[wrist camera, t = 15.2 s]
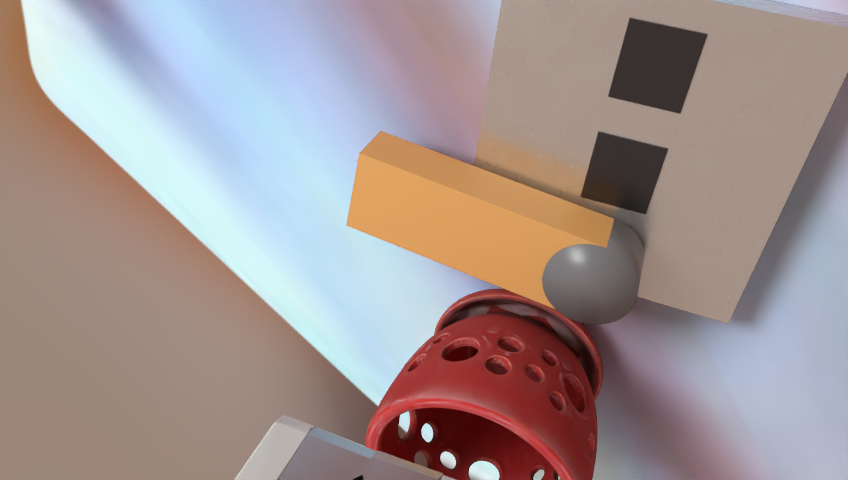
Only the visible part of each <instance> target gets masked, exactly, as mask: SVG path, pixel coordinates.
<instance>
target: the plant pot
mask: <svg viewBox="0 0 848 480" xmlns="http://www.w3.org/2000/svg"><path fill="white" fill-rule="evenodd" d="M602 380H603V367H602V361H601V357H600V354H599V351H598V349H597V346H596V344H595V342H594V340H593V338H592V337H591V335H590V334H589V332H588V331H587V329H586V328H585V327H584V326H583V325H582V324H581V323H580V322H577V321H574V320H572V319H570V318H568V317H566V316H564V315H563V314H561V313H560V312H558V311H557V310H556V309H554V308H551V307H549V306H546V305H544V304H541V303H539V302H536V301H534V300H531V299H529V298H526V297H524V296H521V295H519V294H516V293H514V292H511V291H509V290H506V289H489V290H483V291H479V292H475V293H472V294H470V295H467V296H465V297H463V298H461V299H460V300H458V301H457V302H455V303H454V304H453V305H451V306H450V307H449V308H448V309H447V310H446V311H445V313H444V314H443V315H442V317H441V318H440V320H439V322H438V324H437V326H436V329H435V333H434V336H433V337H431V338H430V339H429V340H428V341H427V342H425V343H424V344H423V345H422V346H421V347H420V348H419V349H418V350H417V352H416V353H415V354H414V355H413V356H412V357H411V358H410V359H409V361H408V362H407V363H406V364H405V366H404V367H403V369H402V370H401V372H400V373H399V374H398V376H397V377H396V379H395V380H394V382H393V383H392V384H391V386H390V387H389V389H388V391H387V392H386V394H385V396H384V397H383V399H382V401H381V403H380V404H379V406H378V408H377V410H376V412H375V413H374V415H373V417H372V419H371V421H370V424H369V426H368V429H367V433H366V443H365V445H366V447H368V448H370V449H373V450H375V451H381V452H384V453H387V454H390V455H392V456H395V457H398V458H401V459H404V460H406V461H409V462H412V463H415V462H414V456H415V454H416V453H417V452H419V451H420V452H422V453H423V454H424V455H425V457H426V459H427V468H429V469H432V470H435V471H438V472H440V473H443V475H445V476H448V477H450V478H453V479H456V480H470V478H469V468H470V466H471V465H472V464H473V463H474V462H477V461H487V462H490V463H492V464H493V465H494V466H496V468H497V469H498V471H499V474H500V478H499V480H533V477H534V474H535V473H536V472H537V471H538V470H540V469H543V470H544V472H545V473H544V476H543V478H542V479H541V480H558V475H559V477H560V478H561V479H560V480H592V477H593V471H594V466H595V459H596V451H597V416H596V408H595V402H594V401H595V399H596V398H597V396H598V394H599V392H600V389H601V385H602ZM407 411H409V414H410V426H409V430H408V432H407V434H406V435H405V436H404V437H403V438H402V439H401V438H400V437H399V434H398V424H399V417H400V414H402V413H404V412H407ZM425 423H428V424H429V425H430V426H431V427H432V429H433V438H432V440H431V441H430V442H429V443H428V442H426V441H425V440H424V439H423V438H422V434H421V429H422V427H423V425H424V424H425ZM444 451H447V452H450V453H451V454H453V456H454V457H455V459H456V466H455V468H454V469H449V468H447V467H445V466H444V465H443V464H442V463H441V461H440V455H441V453H442V452H444Z"/></svg>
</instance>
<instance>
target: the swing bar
mask: <svg viewBox="0 0 848 480" xmlns="http://www.w3.org/2000/svg"><path fill="white" fill-rule="evenodd" d="M347 226H349V227H352V228H354V229H357V230H359V231H362V232H364V233H367V234H369V235H372V236H374V237H377V238H379V239H382V240H384V241H387V242H389V243H392V244H394V245H397V246H399V247H402V248H404V249H407V250H409V251H412V252H414V253H417V254H419V255H422V256H424V257H427V258H429V259H431V260H434V261H436V262H439V263H441V264H444V265H446V266H449V267H451V268H454V269H456V270H459V271H461V272H464V273H466V274H469V275H471V276H474V277H476V278H479V279H481V280H484V281H486V282H489V283H491V284H494V285H496V286H499V287H501V288H504V289H506V290H509V291H511V292H514V293H516V294H519V295H521V296H524V297H526V298H529V299H531V300H534V301H536V302H539V303H541V304H544V305H546V306H549V307H551V308H554V309H556V310H557V311H558V312H560V313H561V314H563V315H564V316H566V317H568V318H570V319H572V320H574V321H577V322H581V323H585V324H595V325H598V324H607V323H611V322H614V321H616V320H619V319H620V318H622V317H624V316H625V315H626V314H627V313H629V311H630V310H631V309H632V308H633V306H634V304H635V302H636V299H637V295H638V290H639V284H640V279H641V273H642V268H643V262H644V250H643V246H642V244H641V241H640V239H639V238H638V236H637V235H636V234H635V232H634V231H633V230H632V229H631V228H629V227H628V226H627V225H626V224H624V223H622V222H620V221H618V220H616V219H614V218H611V217H608V216H606V215H603V214H601V213H598V212H595V211H593V210H590V209H587V208H585V207H582V206H579V205H577V204H574V203H571V202H569V201H566V200H563V199H561V198H558V197H555V196H553V195H550V194H547V193H545V192H542V191H539V190H537V189H534V188H531V187H529V186H526V185H523V184H521V183H518V182H515V181H513V180H510V179H507V178H505V177H502V176H499V175H497V174H494V173H492V172H489V171H486V170H484V169H481V168H478V167H476V166H473V165H470V164H468V163H465V162H462V161H460V160H457V159H454V158H452V157H449V156H446V155H444V154H441V153H438V152H436V151H433V150H430V149H428V148H425V147H422V146H420V145H417V144H414V143H412V142H409V141H406V140H404V139H401V138H398V137H396V136H393V135H390V134H388V133H385V132H383V131H380V132H379V133H378V134H377V135H376V136H375V137H374V138H373V139H372V141H371V142H370V143H369V144H368V145H367V146H366V147H365V148H364V149H363V150H362V151H361V152H360V153H359V158H358V164H357V169H356V175H355V181H354V186H353V192H352V197H351V203H350V208H349V214H348V220H347Z"/></svg>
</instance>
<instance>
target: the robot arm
mask: <svg viewBox="0 0 848 480" xmlns="http://www.w3.org/2000/svg"><path fill="white" fill-rule="evenodd" d="M234 480H456V479H453V478H450V477H448V476H445V475H443V473H440V472H438V471H435V470H432V469H429V468H426V467H423V466H421V465H417V464H415V463H412V462H409V461H406V460H404V459H401V458H398V457H395V456H392V455H390V454H387V453H384V452H381V451H375V450H373V449H370V448H368V447H365V446H362V445H360V444H357V443H355V442H352V441H350V440H347V439H345V438H342V437H340V436H337V435H335V434H332V433H329V432H327V431H324V430H322V429H319V428H317V427H315V426H312V425H310V424H307V423H304V422H301V421H299V420H296V419H294V418H290V417H288V416H285V415H283V416H282V417H281V418H279V419H278V420H277V421H276V422H275V423H274V424H273V425H272V427H271V428H270V429H269V431H268V432H267V434H266V435H265V437H264V438H263V440H262V441H261V442H260V444H259V445H258V447H257V448H256V449H255V451H254V452H253V454H252V455H251V457H250V458H249V459H248V461H247V462H246V464H245V465H244V467H243V468H242V469H241V471H240V472H239V474H238V475H237V477H236V478H235V479H234Z"/></svg>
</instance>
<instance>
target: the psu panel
mask: <svg viewBox="0 0 848 480" xmlns="http://www.w3.org/2000/svg"><path fill="white" fill-rule="evenodd" d="M847 73H848V16H846V15H841V14H836V13H831V12H826V11H821V10H816V9H811V8H806V7H801V6H796V5H791V4H786V3H781V2H776V1H770V0H502V2H501V8H500V14H499V20H498V26H497V32H496V38H495V44H494V50H493V56H492V62H491V68H490V74H489V80H488V86H487V92H486V98H485V104H484V110H483V116H482V122H481V128H480V134H479V140H478V146H477V152H476V158H475V164H474V166H476V167H478V168H481V169H484V170H486V171H489V172H492V173H494V174H497V175H499V176H502V177H505V178H507V179H510V180H513V181H515V182H518V183H521V184H523V185H526V186H529V187H531V188H534V189H537V190H539V191H542V192H545V193H547V194H550V195H553V196H555V197H558V198H561V199H563V200H566V201H569V202H571V203H574V204H577V205H579V206H582V207H585V208H587V209H590V210H593V211H595V212H598V213H601V214H603V215H606V216H608V217H611V218H614V219H616V220H618V221H620V222H622V223H624V224H626V225H627V226H628V227H629V228H631V229H632V230H633V231H634V232H635V234H636V235H637V236H638V238H639V239H640V241H641V244H642V246H643V250H644V262H643V268H642V273H641V279H640V284H639V290H638V295H637V297H640V298H643V299H647V300H650V301H653V302H657V303H660V304H663V305H667V306H670V307H674V308H677V309H680V310H684V311H687V312H690V313H694V314H697V315H701V316H704V317H707V318H711V319H714V320H718V321H721V322H724V323H728V322H729V320H730V318H731V316H732V314H733V312H734V310H735V308H736V306H737V304H738V301H739V299H740V297H741V295H742V293H743V291H744V289H745V287H746V285H747V283H748V280H749V278H750V276H751V274H752V272H753V270H754V268H755V266H756V264H757V262H758V259H759V257H760V255H761V253H762V251H763V249H764V247H765V245H766V243H767V241H768V239H769V236H770V234H771V232H772V230H773V228H774V226H775V224H776V222H777V220H778V218H779V215H780V213H781V211H782V209H783V207H784V205H785V203H786V201H787V199H788V197H789V194H790V192H791V190H792V188H793V186H794V184H795V182H796V180H797V178H798V176H799V173H800V171H801V169H802V167H803V165H804V163H805V161H806V159H807V157H808V155H809V152H810V150H811V148H812V146H813V144H814V142H815V140H816V138H817V136H818V134H819V131H820V129H821V127H822V125H823V123H824V121H825V119H826V117H827V115H828V113H829V110H830V108H831V106H832V104H833V102H834V100H835V98H836V96H837V94H838V92H839V89H840V87H841V85H842V83H843V81H844V79H845V77H846V75H847Z"/></svg>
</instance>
